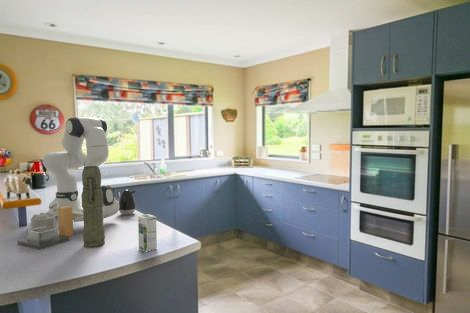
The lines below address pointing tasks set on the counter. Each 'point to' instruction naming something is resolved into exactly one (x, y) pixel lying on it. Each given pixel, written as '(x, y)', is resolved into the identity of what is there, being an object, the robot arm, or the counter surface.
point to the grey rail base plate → (42, 238)
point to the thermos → (92, 207)
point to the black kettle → (127, 202)
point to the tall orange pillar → (65, 221)
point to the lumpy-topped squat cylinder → (43, 221)
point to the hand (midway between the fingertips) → (67, 219)
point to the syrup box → (147, 232)
